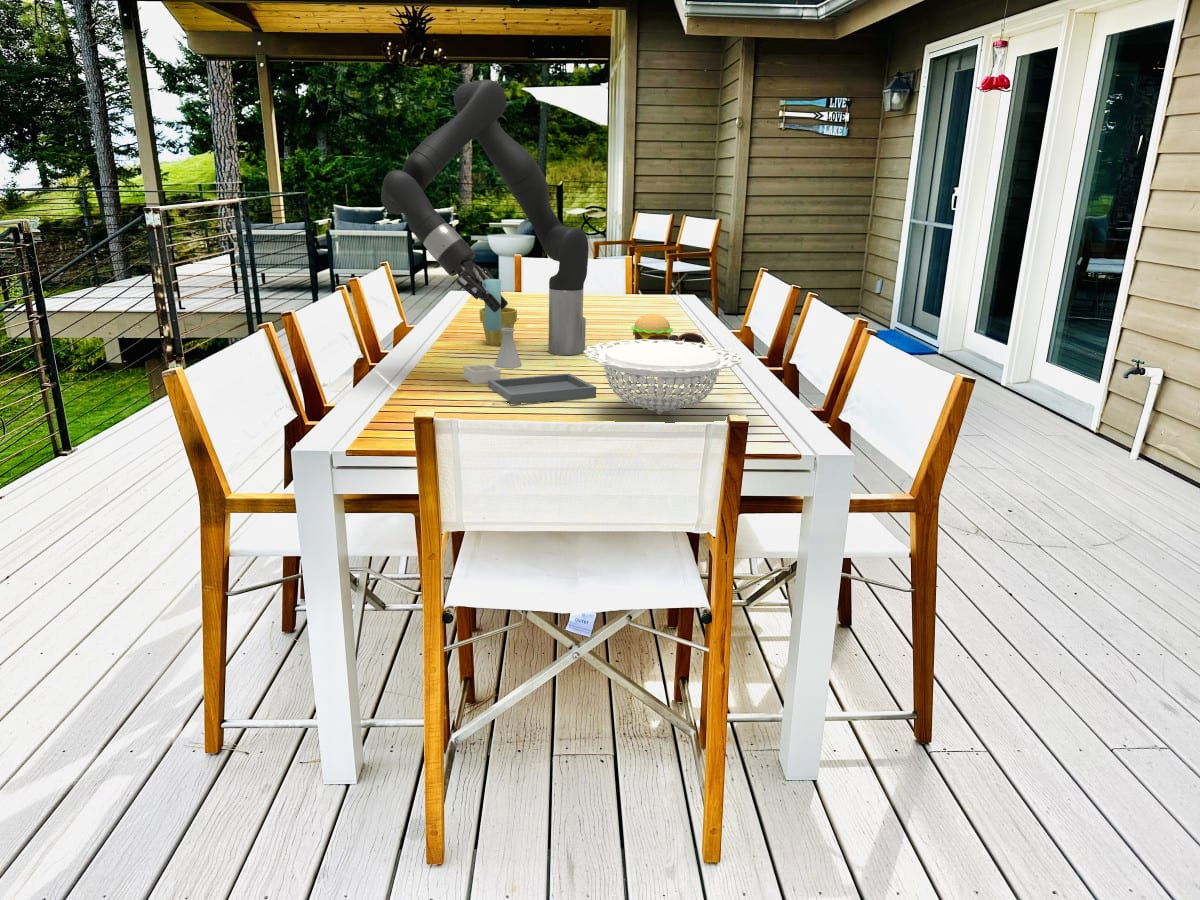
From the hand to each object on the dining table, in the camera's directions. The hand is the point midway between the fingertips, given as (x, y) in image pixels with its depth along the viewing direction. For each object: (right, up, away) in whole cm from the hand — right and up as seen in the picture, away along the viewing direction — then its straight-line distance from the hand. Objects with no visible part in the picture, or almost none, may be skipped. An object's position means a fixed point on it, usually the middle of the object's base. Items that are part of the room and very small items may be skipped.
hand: (501, 307), depth 189 cm
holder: (-5, -16, +8) cm, 19 cm away
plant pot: (-7, -2, +53) cm, 53 cm away
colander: (+34, -24, -14) cm, 44 cm away
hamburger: (+37, -1, +59) cm, 70 cm away
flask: (-1, -12, +23) cm, 25 cm away
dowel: (-2, -5, +2) cm, 5 cm away
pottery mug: (+45, -7, +40) cm, 61 cm away
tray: (+9, -19, 0) cm, 21 cm away
